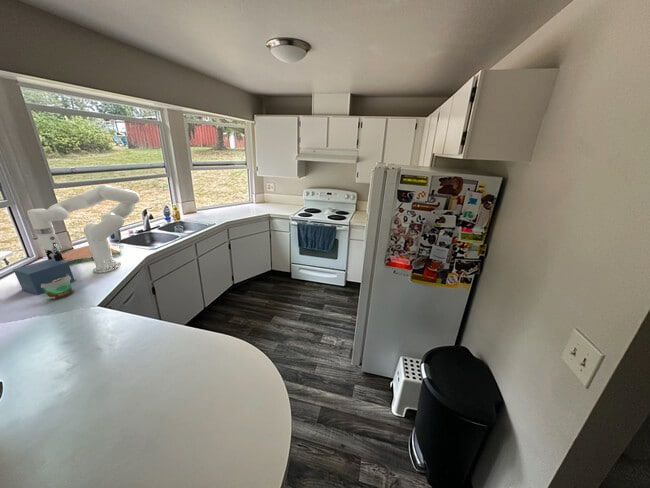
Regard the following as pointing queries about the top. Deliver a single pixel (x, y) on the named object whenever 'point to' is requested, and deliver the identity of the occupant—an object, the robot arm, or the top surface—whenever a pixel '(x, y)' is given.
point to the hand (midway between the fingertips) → (55, 259)
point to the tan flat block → (85, 253)
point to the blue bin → (42, 278)
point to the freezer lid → (41, 266)
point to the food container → (58, 288)
